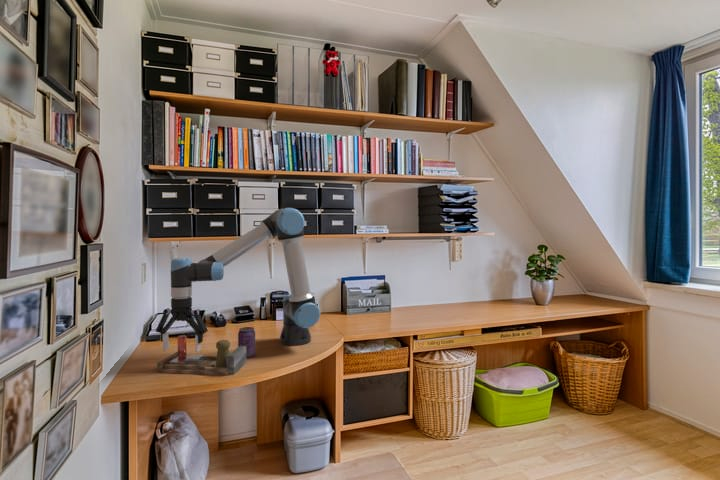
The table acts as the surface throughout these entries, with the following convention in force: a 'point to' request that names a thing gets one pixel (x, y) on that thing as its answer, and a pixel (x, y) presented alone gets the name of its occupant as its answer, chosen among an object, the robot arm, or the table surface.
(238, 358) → the base
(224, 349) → the cork
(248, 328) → the beverage can
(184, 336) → the ram
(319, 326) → the table surface
